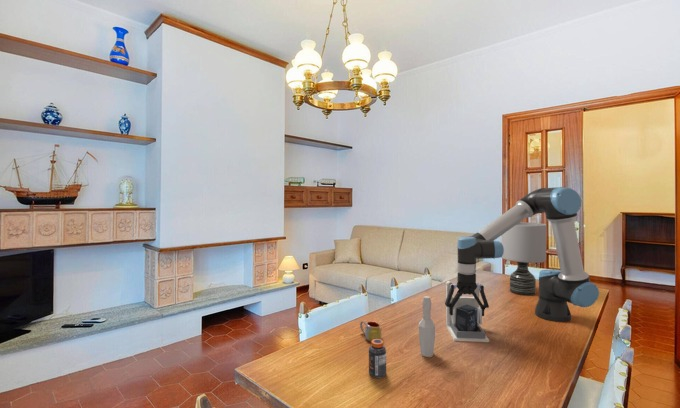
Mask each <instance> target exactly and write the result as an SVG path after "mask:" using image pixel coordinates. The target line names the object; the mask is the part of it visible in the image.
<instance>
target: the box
mask: <svg viewBox="0 0 680 408" xmlns="http://www.w3.org/2000/svg"><path fill="white" fill-rule="evenodd" d="M477 312H478V308H476V307H473V306H470V305H464V306H461V307H457V308H456V328H457V329H458V331H473V332H477Z"/></svg>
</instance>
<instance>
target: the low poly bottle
mask: <svg viewBox="0 0 680 408" xmlns="http://www.w3.org/2000/svg"><path fill="white" fill-rule="evenodd" d="M421 304H422V318H421V320H420V321H419V322H418V342H419V349H420V355H421V356H423V357H425V358H431V357H433V356H434V351H435V350H434V349H435V342H436V323H435V322H434V321H433V319H432V318H431V316H432V315H431V310H432V300H431V297H430V296H428V295H425V296H423V297H422V303H421Z"/></svg>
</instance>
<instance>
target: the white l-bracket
mask: <svg viewBox="0 0 680 408" xmlns="http://www.w3.org/2000/svg"><path fill="white" fill-rule="evenodd" d="M450 284H453V283H452V281H450V280H447V281H445V289H446V290H445V300H446V299H447V296H448V293H449V290H450ZM476 285H480V283H479V282H478V281H476ZM474 292H475V293H476V295H477V296H478V298H479V299H480V291H479V289H478V288H476V289H475V291H474ZM454 297H455V296H454V295H452V298H451V301H452V300H453V298H454ZM451 301H450V303H451ZM464 305H470V306H473V307H476V308H478V307H480V306H479V304H478V303H477V301H476V299H475V298H474V296H473V295H472V296H460V298H459V299H458V301H457V302H456V304H455V305H454V308H455V324H453V323H452V315H450V313H449V307H447V306H446V305H445V306H446V307H445V308H446V309H445V315H446V316H445V319H446V321H445V326H446V329H447V331H448V332H449V334H450V335H451V338H452V339H453V341H454V342H472V343H473V342H474V343H490V338H488V337H487V335H486V332H485V331H484V329H483V328H482V327H481V325H480V324H479V322H478V312H477V332H473V331H458V329H457V328H456V308H457V307H461V306H464Z"/></svg>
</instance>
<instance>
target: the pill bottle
mask: <svg viewBox="0 0 680 408" xmlns="http://www.w3.org/2000/svg"><path fill="white" fill-rule="evenodd" d="M370 343H371V345H370V346H369V347H368V374H369V375H370V376H371V377H373V378H375V379H381V378H384V377H386V375H387V349H386V347H385V346H384V341H383V339H382V340H381V339H373V340H372V341H371V342H370Z"/></svg>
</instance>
